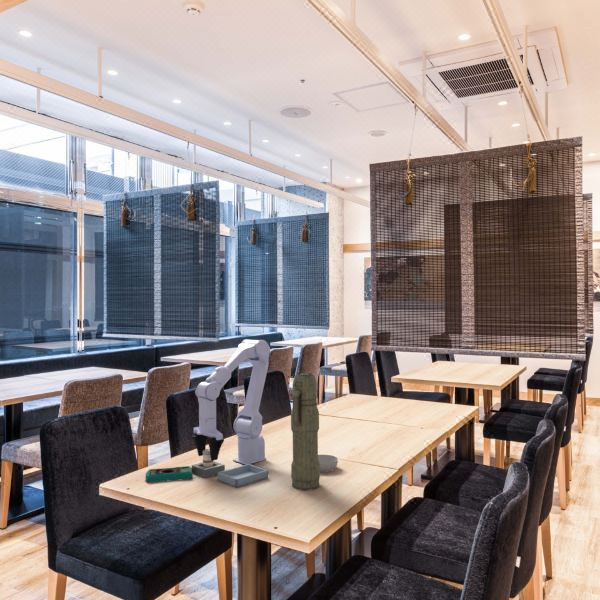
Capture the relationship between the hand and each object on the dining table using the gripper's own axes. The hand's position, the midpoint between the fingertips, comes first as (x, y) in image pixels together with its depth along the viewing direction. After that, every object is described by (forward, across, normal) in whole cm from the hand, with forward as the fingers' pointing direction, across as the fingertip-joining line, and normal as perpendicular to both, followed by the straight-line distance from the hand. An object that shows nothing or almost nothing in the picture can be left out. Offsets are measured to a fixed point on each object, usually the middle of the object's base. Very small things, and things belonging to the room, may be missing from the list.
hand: (207, 457), depth 185 cm
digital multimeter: (+6, -5, -12) cm, 14 cm away
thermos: (+5, +33, +14) cm, 36 cm away
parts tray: (+5, +14, +4) cm, 15 cm away
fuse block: (+5, 0, 0) cm, 5 cm away
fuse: (+5, 0, 0) cm, 5 cm away
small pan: (+5, +21, +30) cm, 37 cm away
